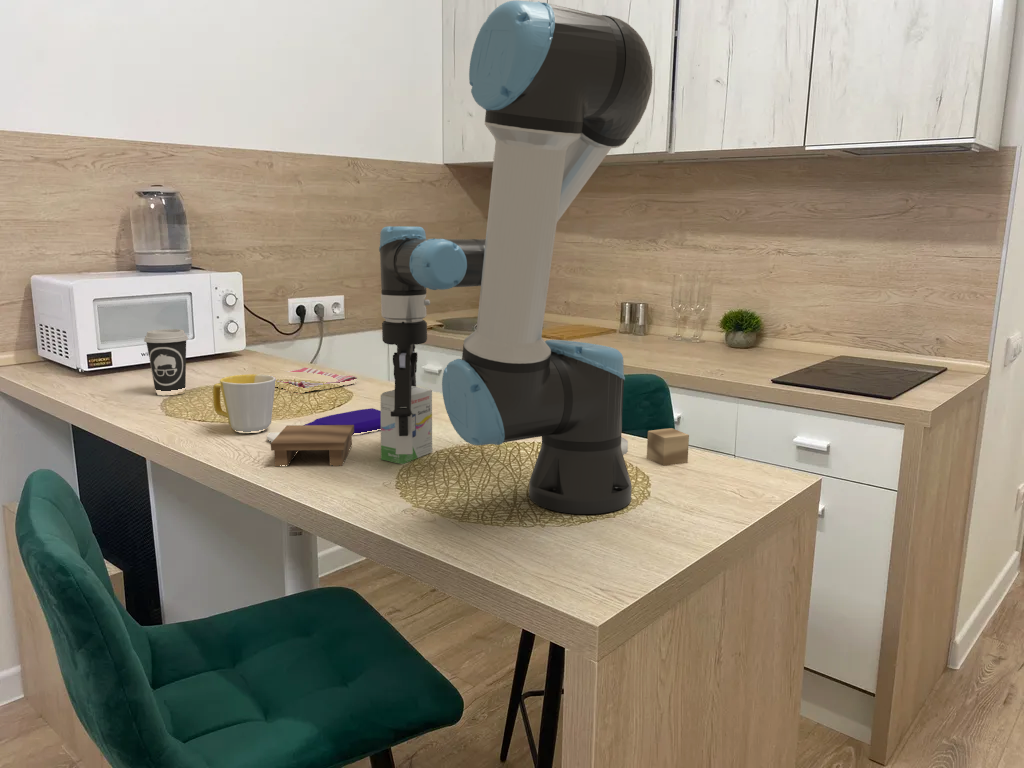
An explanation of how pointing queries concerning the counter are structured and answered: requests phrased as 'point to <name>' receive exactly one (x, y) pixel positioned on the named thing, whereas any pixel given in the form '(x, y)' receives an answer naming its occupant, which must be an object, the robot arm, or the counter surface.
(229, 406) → the mug
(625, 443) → the pale grey dome
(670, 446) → the oak block
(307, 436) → the stand
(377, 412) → the purple bottle shape
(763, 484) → the counter surface
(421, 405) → the ink box
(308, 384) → the dish towel
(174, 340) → the coffee cup
